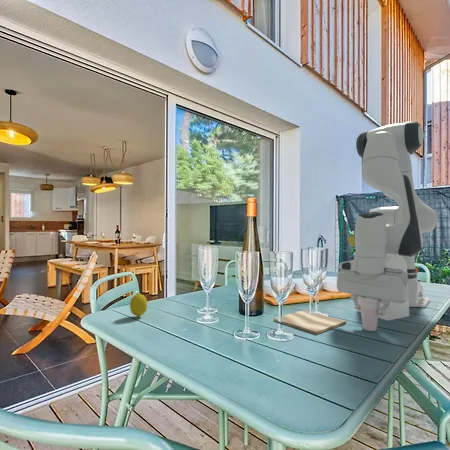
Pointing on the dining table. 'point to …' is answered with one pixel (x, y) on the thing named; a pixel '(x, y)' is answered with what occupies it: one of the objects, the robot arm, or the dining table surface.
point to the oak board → (311, 321)
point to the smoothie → (369, 312)
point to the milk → (394, 308)
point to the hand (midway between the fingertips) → (369, 312)
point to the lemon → (138, 305)
